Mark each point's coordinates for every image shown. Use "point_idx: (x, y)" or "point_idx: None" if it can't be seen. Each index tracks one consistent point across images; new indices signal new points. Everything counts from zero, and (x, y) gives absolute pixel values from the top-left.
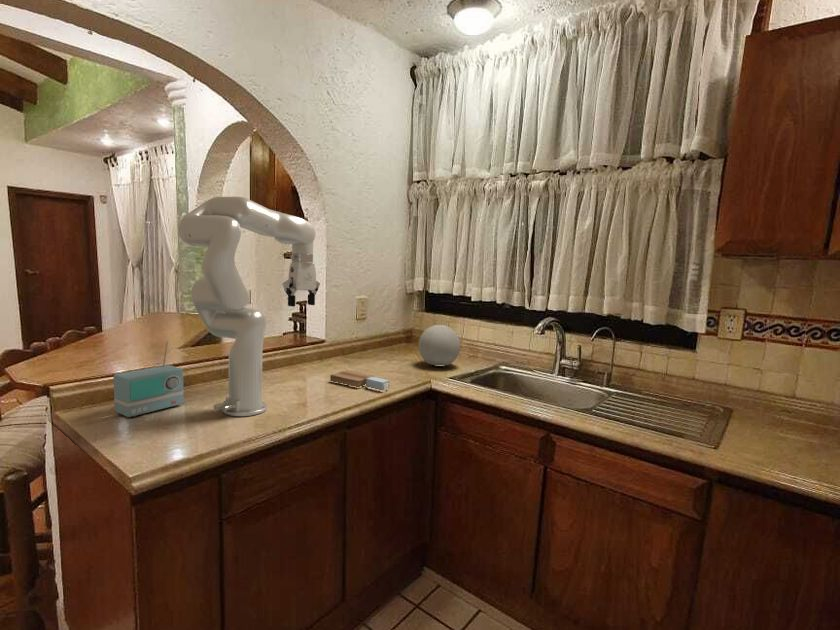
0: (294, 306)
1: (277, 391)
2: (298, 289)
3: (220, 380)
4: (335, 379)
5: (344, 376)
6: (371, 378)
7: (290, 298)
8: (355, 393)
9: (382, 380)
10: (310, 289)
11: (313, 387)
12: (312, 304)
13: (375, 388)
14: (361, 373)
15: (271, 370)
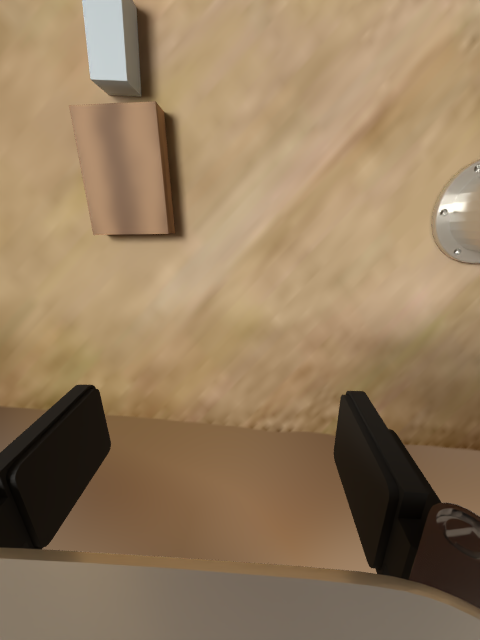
0: (347, 392)
1: (324, 274)
2: (458, 602)
3: (333, 429)
4: (169, 211)
5: (149, 184)
6: (112, 64)
7: (424, 485)
8: (203, 81)
9: (99, 3)
10: (33, 556)
11: (240, 231)
12: (97, 396)
13: (135, 40)
14: (83, 168)
15: (204, 417)
